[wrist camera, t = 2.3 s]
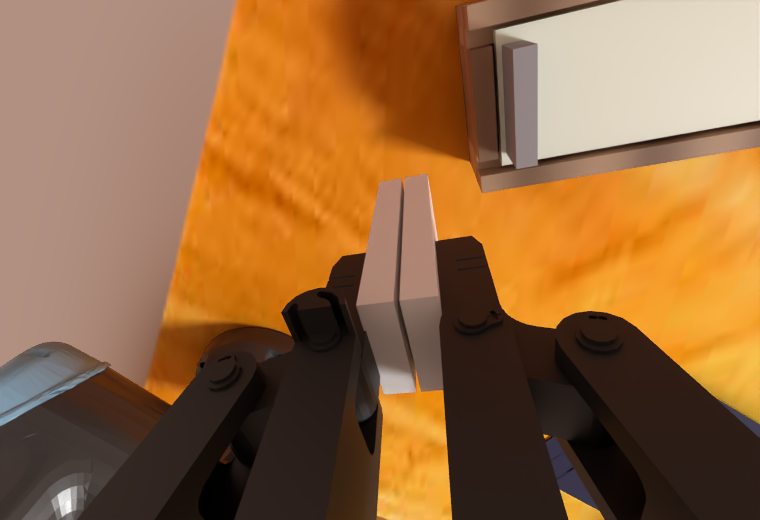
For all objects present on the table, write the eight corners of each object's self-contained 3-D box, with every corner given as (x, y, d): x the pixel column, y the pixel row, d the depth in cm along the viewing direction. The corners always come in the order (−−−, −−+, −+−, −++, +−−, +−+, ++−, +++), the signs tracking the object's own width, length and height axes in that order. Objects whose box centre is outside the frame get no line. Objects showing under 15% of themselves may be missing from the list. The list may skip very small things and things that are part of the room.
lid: (499, 161, 27) (511, 182, 23) (492, 29, 22) (506, 33, 19) (823, 103, 23) (888, 118, 20) (886, -64, 19) (980, -79, 16)
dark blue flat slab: (669, 531, 60) (681, 558, 57) (510, 445, 57) (513, 469, 54) (838, 460, 48) (864, 489, 45) (646, 345, 45) (660, 368, 42)
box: (470, 161, 32) (482, 193, 27) (455, 6, 26) (466, 5, 21) (776, 106, 28) (863, 129, 23) (837, -90, 22) (973, -121, 17)
